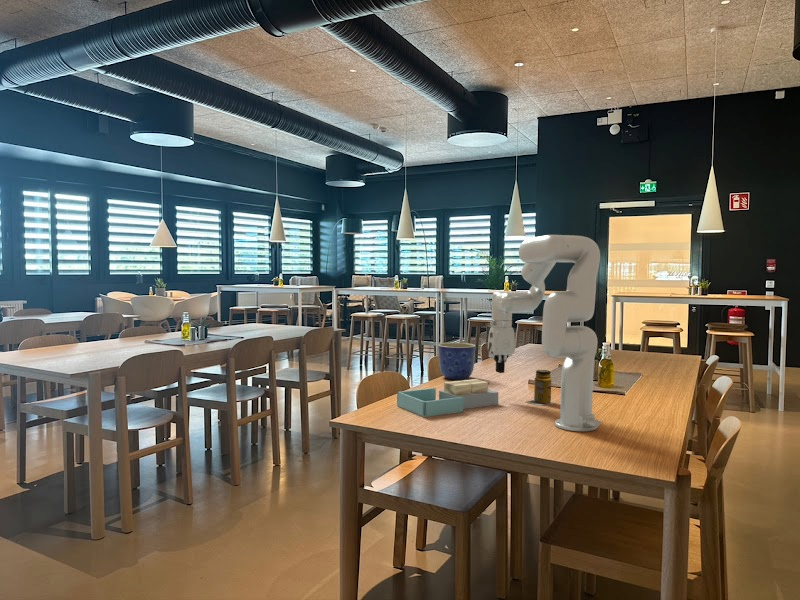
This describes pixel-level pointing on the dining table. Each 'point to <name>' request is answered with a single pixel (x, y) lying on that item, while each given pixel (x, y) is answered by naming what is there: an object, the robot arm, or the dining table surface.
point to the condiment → (542, 388)
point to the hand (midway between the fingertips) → (499, 372)
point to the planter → (456, 360)
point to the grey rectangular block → (474, 398)
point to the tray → (428, 403)
